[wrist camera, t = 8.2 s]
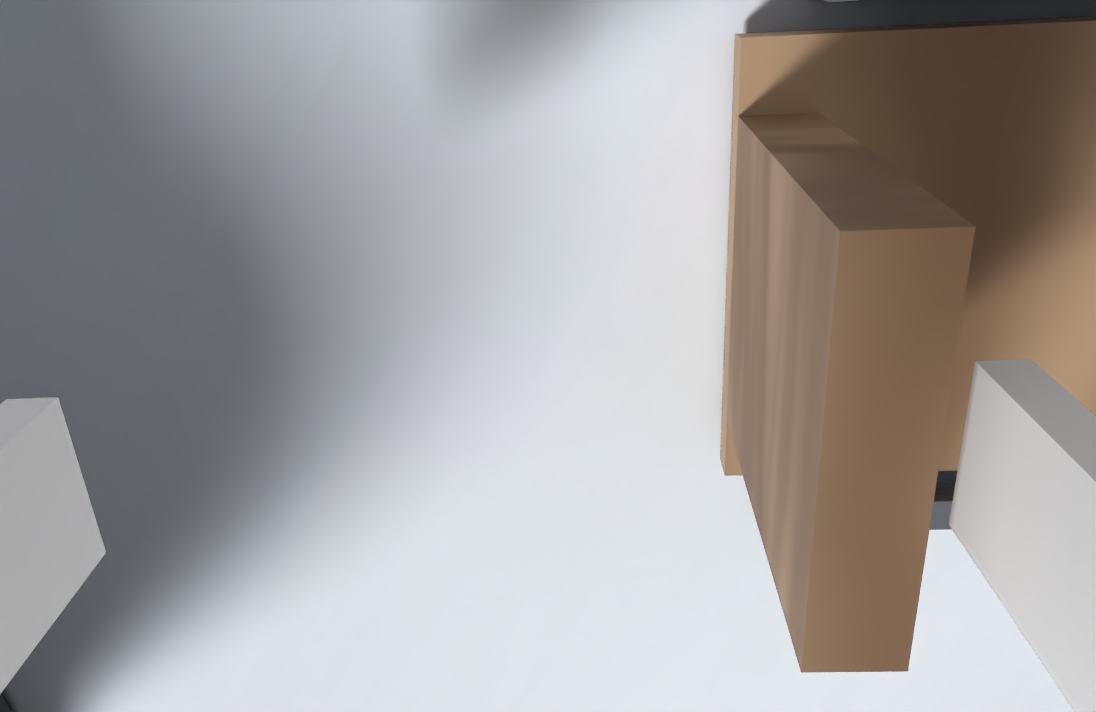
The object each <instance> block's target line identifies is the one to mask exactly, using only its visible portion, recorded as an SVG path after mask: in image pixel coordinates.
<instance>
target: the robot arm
mask: <svg viewBox="0 0 1096 712" xmlns="http://www.w3.org/2000/svg"><path fill="white" fill-rule="evenodd" d="M949 526H950V527H951V529H952V530H953V532H954V533H955V534H956V536H957V537H958V539H959V540H960V542H961V543H962V545H963V546H964V548H965V549H966V551H967V552H968V554H969V555H970V557H971V558H972V560H973V561H974V563H975V564H976V566H977V567H978V569H979V570H980V572H981V573H982V575H983V576H984V578H985V579H986V581H987V582H988V584H989V585H990V587H991V588H992V590H993V591H994V593H995V594H996V596H997V597H998V599H999V600H1000V602H1001V603H1002V604H1003V606H1004V607H1005V609H1006V610H1007V612H1008V613H1009V615H1010V616H1011V618H1012V619H1013V621H1014V622H1015V624H1016V625H1017V627H1018V628H1019V630H1020V631H1021V633H1022V634H1023V636H1024V637H1025V639H1026V640H1027V642H1028V643H1029V645H1030V646H1031V648H1032V649H1033V651H1034V652H1035V654H1036V655H1037V657H1038V658H1039V660H1040V661H1041V663H1042V664H1043V666H1044V667H1045V669H1046V670H1047V672H1048V673H1049V674H1050V676H1051V677H1052V679H1053V680H1054V682H1055V683H1056V685H1057V686H1058V688H1059V689H1060V691H1061V692H1062V694H1063V695H1064V697H1065V698H1066V700H1067V701H1068V703H1069V704H1070V706H1071V707H1072V709H1073V710H1074V712H1096V416H1095V415H1094V414H1093V413H1091V412H1090V411H1089V410H1088V409H1087V408H1086V407H1085V406H1083V405H1082V404H1081V403H1080V402H1079V401H1078V400H1077V399H1076V398H1074V397H1073V396H1072V395H1071V394H1070V393H1069V392H1068V391H1066V390H1065V389H1064V388H1063V387H1062V386H1061V385H1060V384H1058V383H1057V382H1056V381H1055V380H1054V379H1053V378H1052V377H1050V376H1049V375H1048V374H1047V373H1046V372H1045V371H1044V370H1043V369H1041V368H1040V367H1039V366H1038V365H1037V364H1036V363H1035V362H1033V361H1032V360H1031V359H1019V360H993V361H975V366H974V372H973V378H972V384H971V390H970V396H969V403H968V409H967V415H966V421H965V427H964V433H963V440H962V446H961V452H960V458H959V464H958V470H957V476H956V483H955V489H954V495H953V501H952V507H951V513H950V520H949ZM105 554H106V550H105V547H104V544H103V541H102V537H101V534H100V531H99V528H98V525H97V521H96V518H95V515H94V512H93V508H92V505H91V502H90V499H89V495H88V492H87V489H86V486H85V482H84V479H83V476H82V473H81V470H80V466H79V463H78V460H77V457H76V453H75V450H74V447H73V444H72V440H71V437H70V434H69V431H68V427H67V424H66V421H65V418H64V414H63V411H62V408H61V405H60V402H59V398H58V397H48V398H23V399H6V400H5V401H4V402H2V403H1V404H0V712H11V710H10V709H9V707H8V705H7V703H6V701H5V699H4V698H3V696H2V695H1V693H2V691H3V690H4V689H5V687H6V686H7V685H8V683H9V682H10V681H11V679H12V678H13V677H14V675H15V674H16V673H17V671H18V670H19V669H20V667H21V666H22V665H23V663H24V662H25V661H26V659H27V658H28V657H29V655H30V654H31V653H32V651H33V650H34V649H35V647H36V646H37V645H38V643H39V642H40V641H41V639H42V638H43V637H44V635H45V634H46V633H47V631H48V630H49V629H50V627H51V626H52V624H53V623H54V622H55V620H56V619H57V618H58V616H59V615H60V614H61V612H62V611H63V610H64V608H65V607H66V606H67V604H68V603H69V602H70V600H71V599H72V598H73V596H74V595H75V594H76V592H77V591H78V590H79V588H80V587H81V586H82V584H83V583H84V582H85V580H86V579H87V578H88V576H89V575H90V574H91V572H92V571H93V570H94V568H95V567H96V566H97V564H98V563H99V562H100V560H101V559H102V558H103V556H104V555H105Z"/></svg>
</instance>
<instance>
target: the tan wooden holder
mask: <svg viewBox="0 0 1096 712" xmlns="http://www.w3.org/2000/svg"><path fill="white" fill-rule="evenodd" d="M1019 359H1031V360H1032V361H1033V362H1035V363H1036V364H1037V365H1038V366H1039V367H1040V368H1041V369H1043V370H1044V371H1045V372H1046V373H1047V374H1048V375H1049V376H1050V377H1052V378H1053V379H1054V380H1055V381H1056V382H1057V383H1058V384H1060V385H1061V386H1062V387H1063V388H1064V389H1065V390H1066V391H1068V392H1069V393H1070V394H1071V395H1072V396H1073V397H1074V398H1076V399H1077V400H1078V401H1079V402H1080V403H1081V404H1082V405H1083V406H1085V407H1086V408H1087V409H1088V410H1089V411H1090V412H1091V413H1093V414H1094V415H1095V416H1096V16H1095V17H1074V18H1054V19H1033V20H1012V21H992V22H971V23H950V24H930V25H909V26H888V27H868V28H847V29H827V30H806V31H785V32H765V33H744V34H735V47H734V75H733V104H732V133H731V162H730V190H729V219H728V248H727V277H726V305H725V334H724V363H723V392H722V420H721V449H720V459H721V463H722V467H723V471H724V475H743V477H744V481H745V484H746V487H747V491H748V494H749V498H750V501H751V504H752V508H753V511H754V514H755V518H756V521H757V525H758V528H759V531H760V535H761V538H762V541H763V545H764V548H765V552H766V555H767V558H768V562H769V565H770V568H771V572H772V575H773V579H774V582H775V585H776V589H777V592H778V595H779V599H780V602H781V606H782V609H783V612H784V616H785V619H786V622H787V626H788V629H789V633H790V636H791V639H792V643H793V646H794V649H795V653H796V656H797V660H798V663H799V666H800V670H801V672H883V671H908V666H909V659H910V653H911V646H912V640H913V633H914V627H915V620H916V613H917V607H918V600H919V594H920V587H921V581H922V574H923V568H924V561H925V554H926V548H927V541H928V535H929V528H930V522H931V515H932V509H933V502H934V495H935V489H936V482H937V476H938V471H953V470H958V464H959V458H960V452H961V446H962V440H963V433H964V427H965V421H966V415H967V409H968V403H969V396H970V390H971V384H972V378H973V372H974V366H975V361H993V360H1019Z"/></svg>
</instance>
